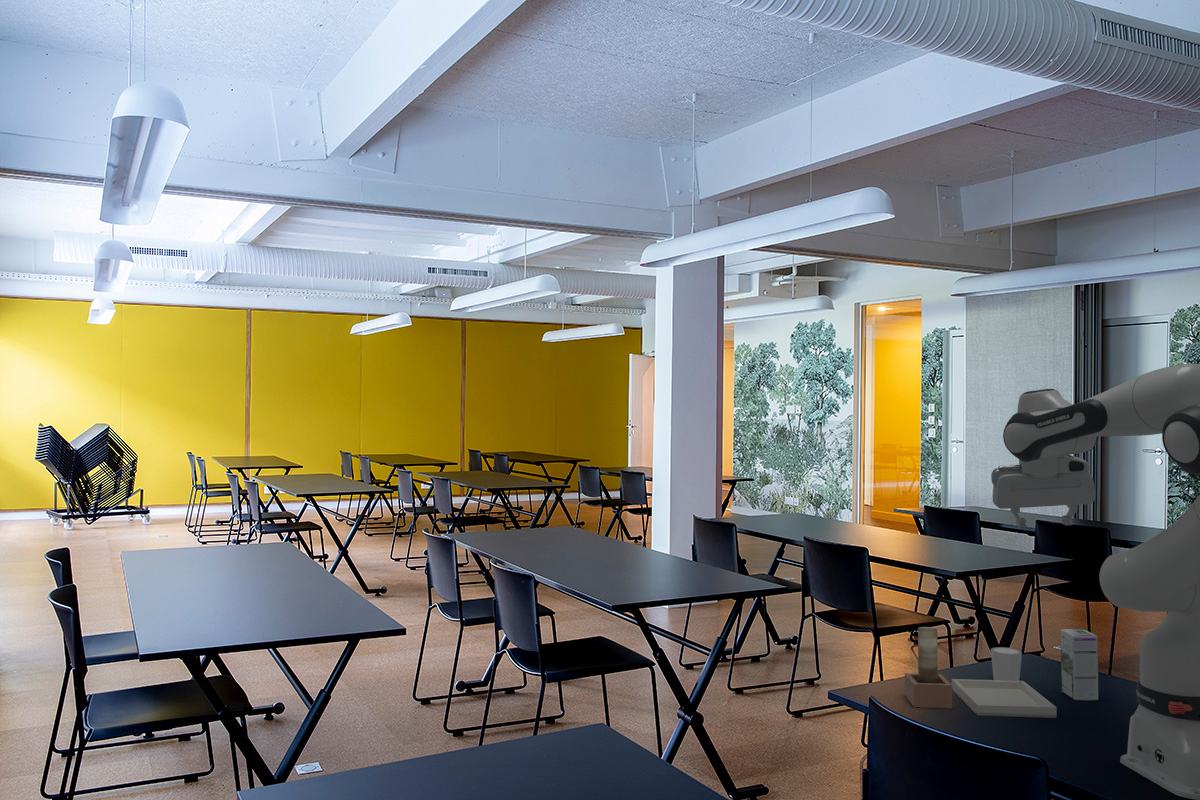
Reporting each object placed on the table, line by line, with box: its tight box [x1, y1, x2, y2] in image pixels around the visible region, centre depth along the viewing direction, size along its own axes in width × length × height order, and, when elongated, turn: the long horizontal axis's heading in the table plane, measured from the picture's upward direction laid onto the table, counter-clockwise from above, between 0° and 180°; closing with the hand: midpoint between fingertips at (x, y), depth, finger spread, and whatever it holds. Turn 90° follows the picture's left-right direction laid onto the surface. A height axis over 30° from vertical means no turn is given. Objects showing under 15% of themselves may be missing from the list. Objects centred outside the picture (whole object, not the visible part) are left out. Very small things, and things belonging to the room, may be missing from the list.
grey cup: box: [990, 646, 1023, 681], centre depth 213 cm, size 7×7×7 cm
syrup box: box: [1060, 628, 1099, 701], centre depth 201 cm, size 6×6×14 cm
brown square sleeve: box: [904, 672, 953, 710], centre depth 197 cm, size 8×8×5 cm
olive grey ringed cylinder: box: [917, 626, 939, 684], centre depth 197 cm, size 4×4×16 cm
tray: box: [951, 678, 1058, 719], centre depth 196 cm, size 18×16×2 cm
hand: (1044, 525), depth 194 cm, fingers open, 8 cm apart
